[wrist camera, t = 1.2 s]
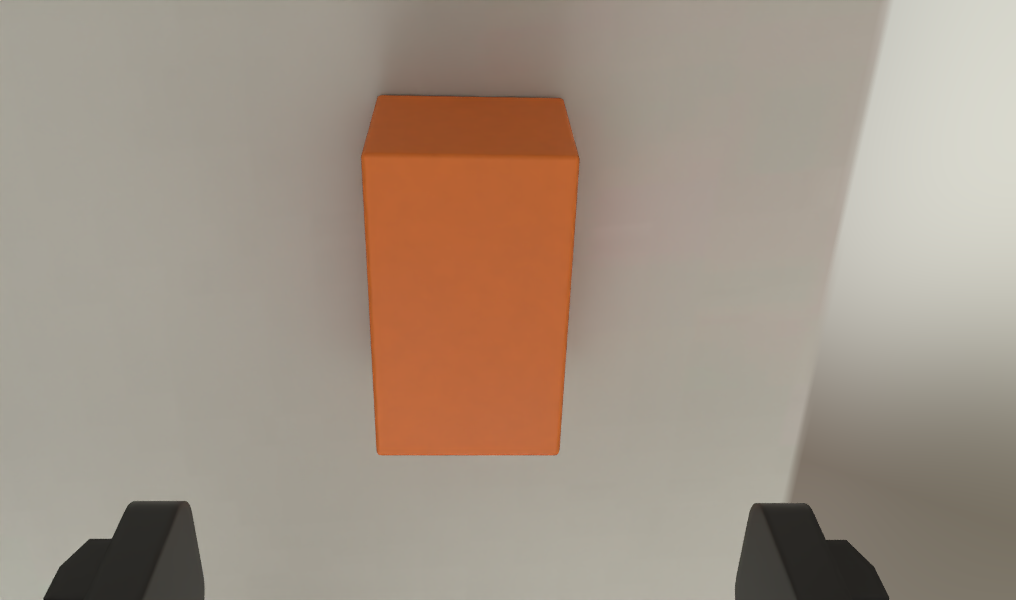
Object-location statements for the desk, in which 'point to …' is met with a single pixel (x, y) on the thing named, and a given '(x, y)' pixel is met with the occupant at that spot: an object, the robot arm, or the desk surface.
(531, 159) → the block
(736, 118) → the desk surface
